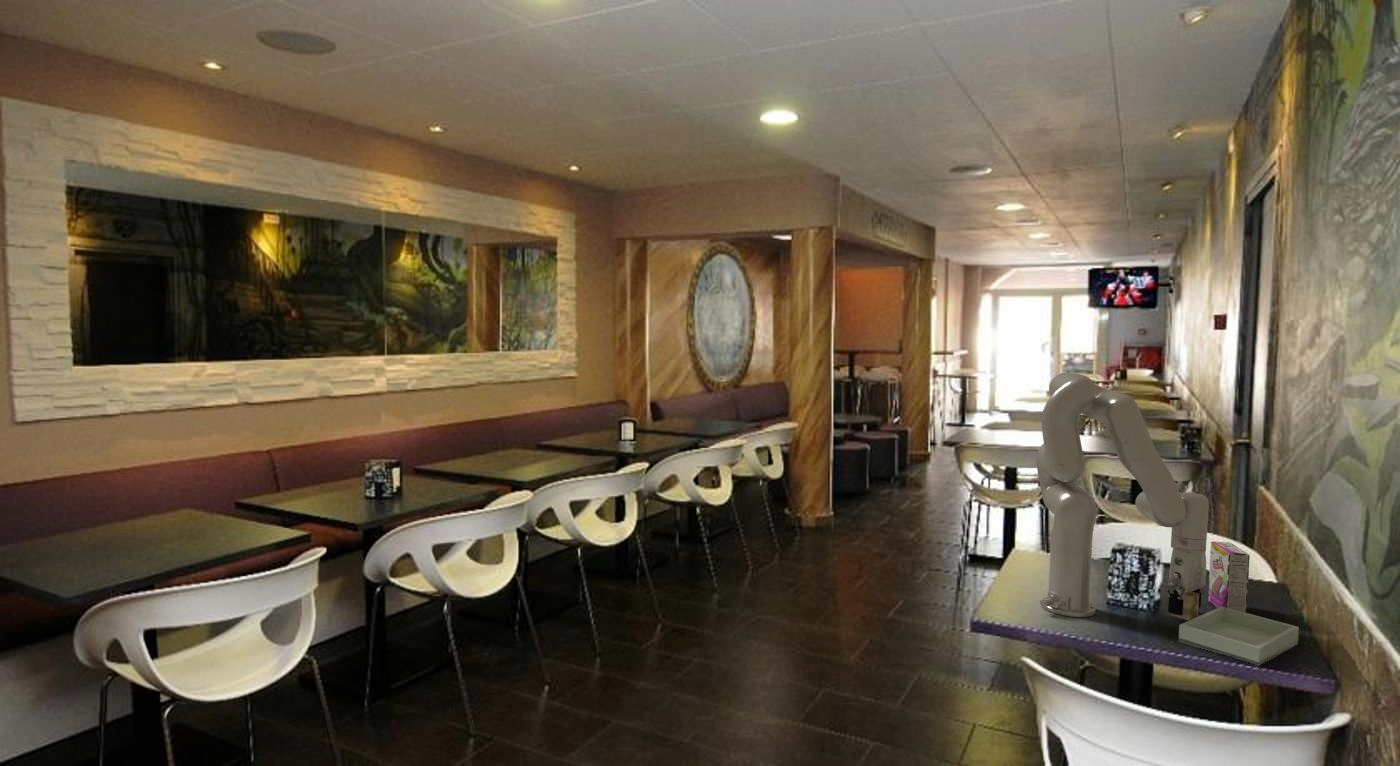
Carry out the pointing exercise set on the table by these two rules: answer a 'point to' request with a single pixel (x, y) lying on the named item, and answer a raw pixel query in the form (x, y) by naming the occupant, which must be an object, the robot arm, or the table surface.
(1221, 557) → the candy bar box
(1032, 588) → the table surface
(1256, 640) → the tray
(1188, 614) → the maple block
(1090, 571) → the robot arm
